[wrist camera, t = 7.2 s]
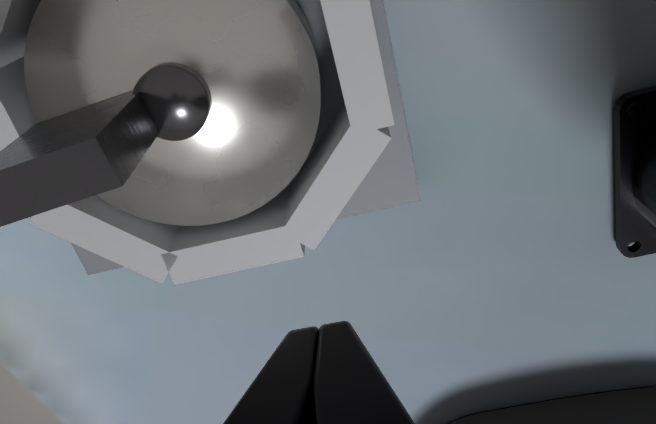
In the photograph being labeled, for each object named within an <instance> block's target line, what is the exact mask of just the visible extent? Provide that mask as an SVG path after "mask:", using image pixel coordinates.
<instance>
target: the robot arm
mask: <svg viewBox="0 0 656 424" xmlns="http://www.w3.org/2000/svg"><path fill="white" fill-rule="evenodd" d="M635 102H636V103H637V106H636V109H635V110H634V111H633V112H631V113H627V110H628V107H629V106H630V105H631V104H633V103H635ZM614 134H615V212H616V246H617V248H618V249H619V251H620V252H621V253H622V254H623V255H624V256H626V257H629V258H630V257H638V256H643V255H648V254H653V253H656V86H653V87H649V88H644V89H640V90H636V91H632V92H628V93H626V94H623V95H622V96H621V97H620V98H619V99H618V100H617V102H616V104H615V108H614ZM632 241H636V242H635V243H634V244H633V245H632V246H630V247H628V245H629V244H630V242H632ZM223 424H415V423H414V422H413V420H412V418H411V417H410V415H409V414H408V412H407V411H406V409H405V408H404V406H403V405H402V403H401V401H400V400H399V398H398V397H397V395H396V394H395V392H394V391H393V389H392V388H391V386H390V384H389V383H388V381H387V380H386V378H385V377H384V375H383V374H382V372H381V371H380V369H379V368H378V366H377V364H376V363H375V361H374V360H373V358H372V357H371V355H370V354H369V352H368V351H367V349H366V347H365V346H364V344H363V343H362V341H361V340H360V338H359V337H358V335H357V334H356V332H355V330H354V329H353V327H352V326H351V324H350V323H349V322H347V321H341V322H335V323H330V324H324V325H322V326H321V327H320V328H319V329H318V328H317V327H307V328H302V329H296V330H292V331H290V332H289V333H288V334H287V335H286V336H285V338H284V339H283V340H282V342H281V343H280V345H279V346H278V347H277V349H276V350H275V352H274V353H273V354H272V356H271V357H270V359H269V360H268V361H267V363H266V364H265V366H264V367H263V368H262V370H261V371H260V373H259V374H258V376H257V377H256V378H255V380H254V381H253V383H252V384H251V385H250V387H249V388H248V390H247V391H246V392H245V394H244V395H243V397H242V398H241V399H240V401H239V402H238V404H237V405H236V407H235V408H234V409H233V411H232V412H231V414H230V415H229V416H228V418H227V419H226V421H225V422H224V423H223Z"/></svg>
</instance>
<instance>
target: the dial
mask: <svg viewBox="0 0 656 424" xmlns="http://www.w3.org/2000/svg"><path fill="white" fill-rule="evenodd" d="M24 76H25V85H26V92H27V96H28V100H29V104H30V108H31V111H32V113H33V116H34V118H35V121H36V124H35V125H34V126H32V127H31V128H30V129H28V130H27V131H26V132H24V133H23V134H22V135H21V136H19V137H18V138H17V139H15V140H14V141H13V142H11V143H10V144H9V145H8V146H6V147H5V148H4V149H2V150H1V151H0V227H1V226H4V225H7V224H10V223H13V222H16V221H19V220H22V219H25V218H28V217H31V216H34V215H37V214H40V213H43V212H46V211H49V210H52V209H55V208H58V207H61V206H64V205H67V204H70V203H73V202H76V201H80V200H83V199H86V198H89V197H92V196H95V195H96V196H97V197H98V198H100V199H102V200H104V201H105V202H107V203H109V204H110V205H112V206H114V207H116V208H118V209H120V210H122V211H124V212H126V213H129V214H131V215H134V216H137V217H140V218H143V219H146V220H149V221H154V222H158V223H163V224H170V225H179V226H201V225H209V224H217V223H221V222H225V221H229V220H233V219H236V218H238V217H241V216H243V215H246V214H248V213H250V212H252V211H254V210H256V209H258V208H260V207H262V206H263V205H265V204H266V203H267V202H269V201H270V200H272V199H273V198H274V197H276V196H277V195H278V194H279V193H280V192H281V191H282V190H283V189H284V188H285V187H286V186H287V185H288V184H289V183H290V182H291V181H292V179H293V178H294V177H295V176H296V174H297V173H298V172H299V170H300V168H301V167H302V165H303V164H304V162H305V160H306V159H307V156H308V154H309V152H310V149H311V147H312V145H313V142H314V139H315V135H316V132H317V128H318V123H319V116H320V108H321V92H320V66H319V59H318V53H317V49H316V45H315V41H314V38H313V35H312V32H311V30H310V28H309V25H308V23H307V20H306V18H305V16H304V15H303V13H302V11H301V9H300V8H299V6H298V4H297V3H296V1H295V0H41V1H40V3H39V5H38V7H37V9H36V11H35V13H34V15H33V18H32V21H31V24H30V27H29V30H28V34H27V40H26V45H25V51H24Z"/></svg>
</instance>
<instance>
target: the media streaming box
mask: <svg viewBox="0 0 656 424" xmlns="http://www.w3.org/2000/svg"><path fill="white" fill-rule="evenodd" d="M450 424H656V387H647V388H638V389H630V390H622V391H614V392H606V393H599V394H591V395H584V396H577V397H571V398H564V399H558V400H552V401H546V402H540V403H534V404H528V405H522V406H517V407H511V408H506V409H500V410H495V411H490V412H485V413H480V414H475V415H470V416H466V417H463V418H461V419H458V420H456V421H454V422H452V423H450Z"/></svg>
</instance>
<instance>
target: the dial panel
mask: <svg viewBox="0 0 656 424" xmlns="http://www.w3.org/2000/svg"><path fill="white" fill-rule="evenodd" d="M40 1H41V0H0V151H1V150H2V149H4V148H5V147H6V146H8V145H9V144H10V143H11V142H13V141H14V140H15V139H17V138H18V137H19V136H21V135H22V134H23V133H24V132H26V131H27V130H28V129H30V128H31V127H32V126H34V125H35V124H36V121H35V118H34V116H33V113H32V111H31V108H30V104H29V100H28V96H27V92H26V85H25V76H24V51H25V45H26V40H27V34H28V30H29V27H30V24H31V21H32V18H33V15H34V13H35V11H36V9H37V7H38V5H39V3H40ZM295 1H296V3H297V4H298V6H299V8H300V9H301V11H302V13H303V15H304V16H305V18H306V20H307V23H308V25H309V28H310V30H311V32H312V35H313V38H314V41H315V45H316V49H317V53H318V59H319V66H320V92H321V108H320V116H319V123H318V128H317V132H316V135H315V139H314V142H313V145H312V147H311V149H310V152H309V154H308V156H307V159H306V160H305V162H304V164H303V165H302V167H301V168H300V170H299V172H298V173H297V174H296V176H295V177H294V178H293V179H292V181H291V182H290V183H289V184H288V185H287V186H286V187H285V188H284V189H283V190H282V191H281V192H280V193H279V194H278V195H277V196H276V197H274V198H273V199H272V200H270V201H269V202H267V203H266V204H265V205H263V206H262V207H260V208H258V209H256V210H254V211H252V212H250V213H248V214H246V215H243V216H241V217H238V218H236V219H233V220H229V221H225V222H221V223H217V224H209V225H201V226H179V225H170V224H163V223H158V222H154V221H149V220H146V219H143V218H140V217H137V216H134V215H131V214H129V213H126V212H124V211H122V210H120V209H118V208H116V207H114V206H112V205H110V204H109V203H107V202H105V201H104V200H102V199H100V198H98V197H97V196H96V195H95V196H92V197H89V198H86V199H83V200H80V201H76V202H73V203H70V204H67V205H64V206H61V207H58V208H55V209H52V210H49V211H46V212H43V213H40V214H37V215H34V216H32V218H31V221H30V223H29V224H31V225H33V226H35V227H37V228H40V229H42V230H44V231H46V232H49V233H51V234H53V235H55V236H57V237H60V238H62V239H64V240H66V241H69V242H71V244H72V246H73V247H74V249H75V251H76V253H77V255H78V257H79V259H80V261H81V262H82V264H83V266H84V268H85V270H86V272H87V274H88V275H91V274H95V273H99V272H104V271H108V270H113V269H117V268H122V267H126V268H128V269H131V270H133V271H135V272H137V273H140V274H142V275H144V276H146V277H148V278H151V279H153V280H155V281H157V282H160V283H163V281H164V280H165V278H166V276H167V274H168V273H169V274H170V276H171V279H172V281H173V283H174V285H177V284H182V283H186V282H191V281H195V280H200V279H205V278H209V277H214V276H218V275H223V274H227V273H232V272H236V271H241V270H246V269H250V268H255V267H259V266H264V265H268V264H273V263H278V262H282V261H287V260H291V259H296V258H300V257H304V251H305V246H307V247H309V248H311V249H313V250H315V248H316V247H317V246H318V244H319V243H320V241H321V240H322V238H323V237H324V235H325V234H326V232H327V231H328V230H329V228H330V227H331V225H332V224H333V222H334V221H335V220H336V219H340V218H344V217H349V216H353V215H358V214H362V213H367V212H371V211H376V210H380V209H385V208H389V207H393V206H398V205H402V204H407V203H411V202H416V201H420V200H421V199H420V194H419V189H418V183H417V178H416V173H415V168H414V163H413V157H412V152H411V147H410V142H409V136H408V131H407V126H406V121H405V115H404V110H403V105H402V100H401V95H400V89H399V84H398V79H397V74H396V68H395V63H394V58H393V53H392V48H391V42H390V37H389V32H388V27H387V21H386V16H385V11H384V6H383V0H295Z"/></svg>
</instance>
